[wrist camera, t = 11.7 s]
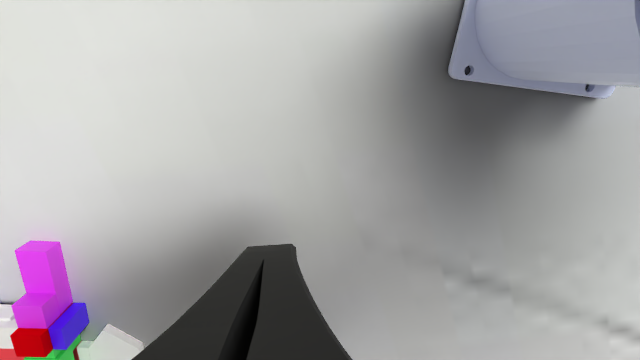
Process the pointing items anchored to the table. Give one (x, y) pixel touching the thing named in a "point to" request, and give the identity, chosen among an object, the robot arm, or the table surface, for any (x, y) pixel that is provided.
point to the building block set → (54, 315)
